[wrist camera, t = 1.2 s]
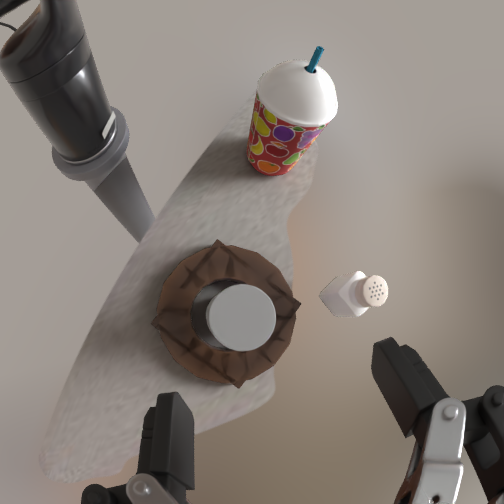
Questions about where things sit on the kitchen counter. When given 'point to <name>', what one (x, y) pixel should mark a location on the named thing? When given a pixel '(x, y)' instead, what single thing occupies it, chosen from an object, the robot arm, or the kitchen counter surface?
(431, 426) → the robot arm
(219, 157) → the kitchen counter surface
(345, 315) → the pepper shaker
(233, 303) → the container
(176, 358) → the collar
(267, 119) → the smoothie
